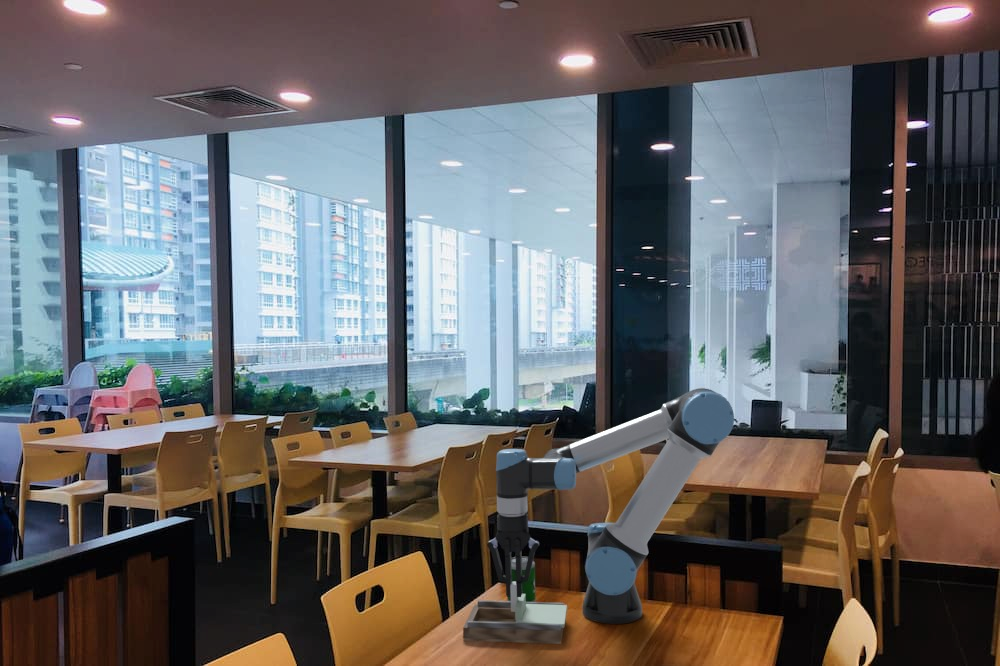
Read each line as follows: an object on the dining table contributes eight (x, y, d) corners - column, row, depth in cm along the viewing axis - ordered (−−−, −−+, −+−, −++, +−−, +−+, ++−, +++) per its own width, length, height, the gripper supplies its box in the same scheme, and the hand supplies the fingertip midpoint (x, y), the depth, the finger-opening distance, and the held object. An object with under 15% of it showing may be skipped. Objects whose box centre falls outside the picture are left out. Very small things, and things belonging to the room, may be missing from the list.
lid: (567, 608, 193) (566, 593, 193) (564, 627, 180) (564, 611, 180) (520, 606, 195) (520, 591, 195) (514, 625, 182) (514, 609, 182)
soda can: (533, 610, 202) (532, 564, 202) (505, 608, 203) (504, 562, 203) (537, 600, 209) (536, 556, 209) (510, 599, 211) (509, 555, 211)
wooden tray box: (564, 619, 195) (564, 602, 195) (560, 644, 179) (560, 625, 179) (474, 616, 198) (474, 599, 198) (463, 640, 182) (463, 622, 182)
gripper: (540, 510, 191) (542, 605, 191) (488, 509, 193) (490, 604, 193) (537, 516, 184) (539, 616, 184) (483, 516, 186) (485, 614, 185)
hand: (514, 609), depth 188 cm, fingers closed
